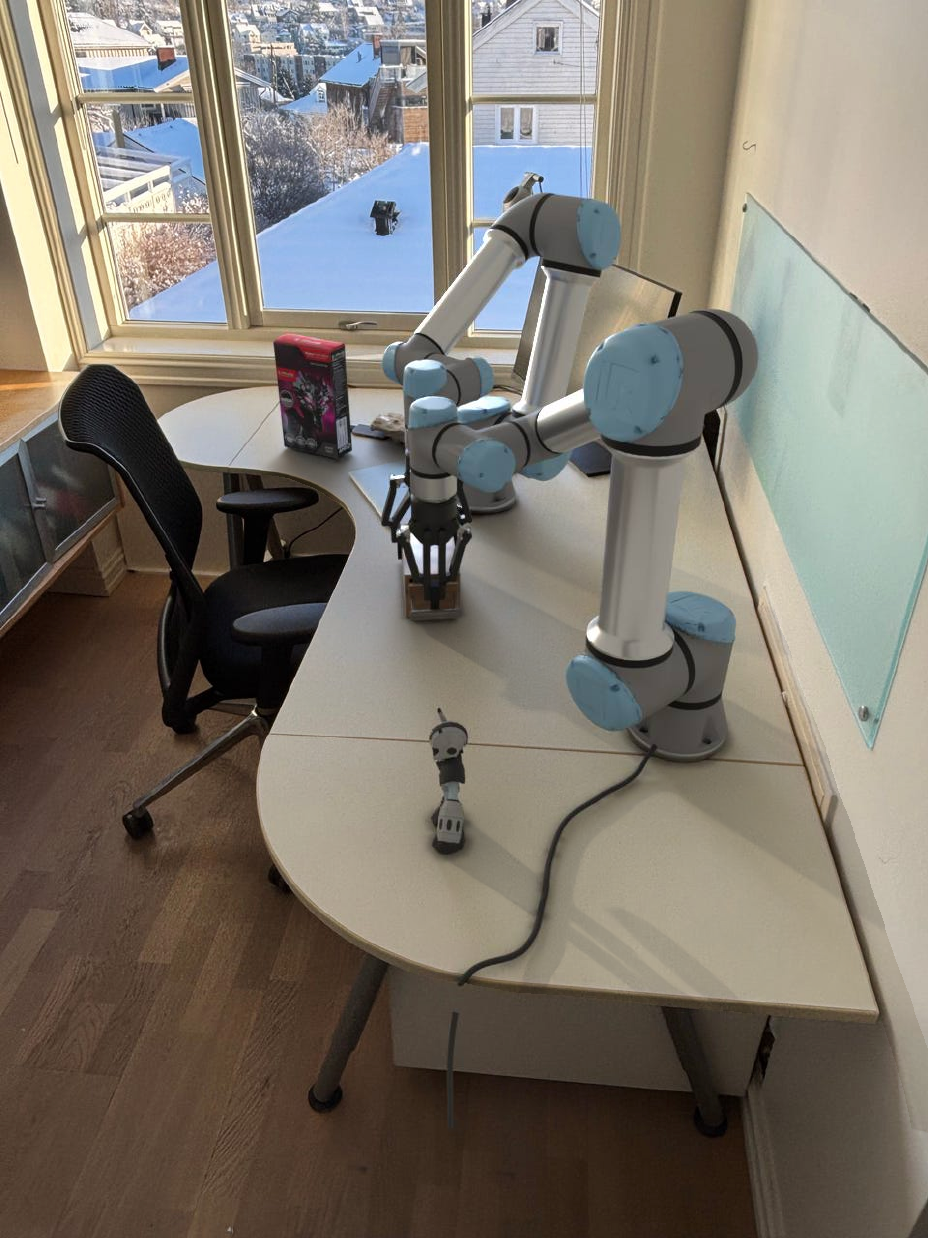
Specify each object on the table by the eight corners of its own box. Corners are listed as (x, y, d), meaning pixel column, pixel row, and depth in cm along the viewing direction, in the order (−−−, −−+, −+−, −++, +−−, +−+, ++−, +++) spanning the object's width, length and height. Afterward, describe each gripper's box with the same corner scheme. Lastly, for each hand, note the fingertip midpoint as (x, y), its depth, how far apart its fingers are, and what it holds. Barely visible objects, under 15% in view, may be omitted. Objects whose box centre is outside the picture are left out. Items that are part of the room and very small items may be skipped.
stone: (354, 436, 230) (358, 412, 227) (375, 427, 243) (380, 405, 241) (432, 460, 226) (438, 436, 224) (450, 450, 240) (455, 428, 237)
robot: (470, 888, 117) (472, 772, 106) (432, 889, 117) (430, 773, 106) (463, 780, 133) (464, 669, 122) (429, 781, 133) (427, 670, 122)
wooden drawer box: (460, 615, 170) (460, 572, 165) (405, 617, 169) (404, 575, 164) (451, 563, 185) (451, 523, 180) (401, 565, 184) (400, 525, 179)
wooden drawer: (461, 637, 162) (461, 602, 158) (411, 639, 161) (410, 605, 157) (449, 568, 182) (449, 536, 178) (405, 570, 181) (404, 538, 177)
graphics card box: (282, 447, 232) (270, 339, 217) (298, 438, 237) (288, 331, 222) (338, 461, 225) (330, 350, 210) (354, 451, 230) (347, 342, 215)
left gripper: (485, 438, 171) (482, 543, 184) (363, 442, 169) (368, 547, 182) (489, 455, 165) (486, 562, 178) (363, 458, 163) (369, 567, 176)
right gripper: (471, 481, 153) (469, 600, 166) (392, 484, 152) (397, 604, 165) (476, 502, 147) (473, 624, 160) (394, 505, 146) (398, 627, 159)
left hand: (427, 555), depth 180 cm, fingers closed on wooden drawer box, 10 cm apart
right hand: (434, 614), depth 162 cm, fingers closed
